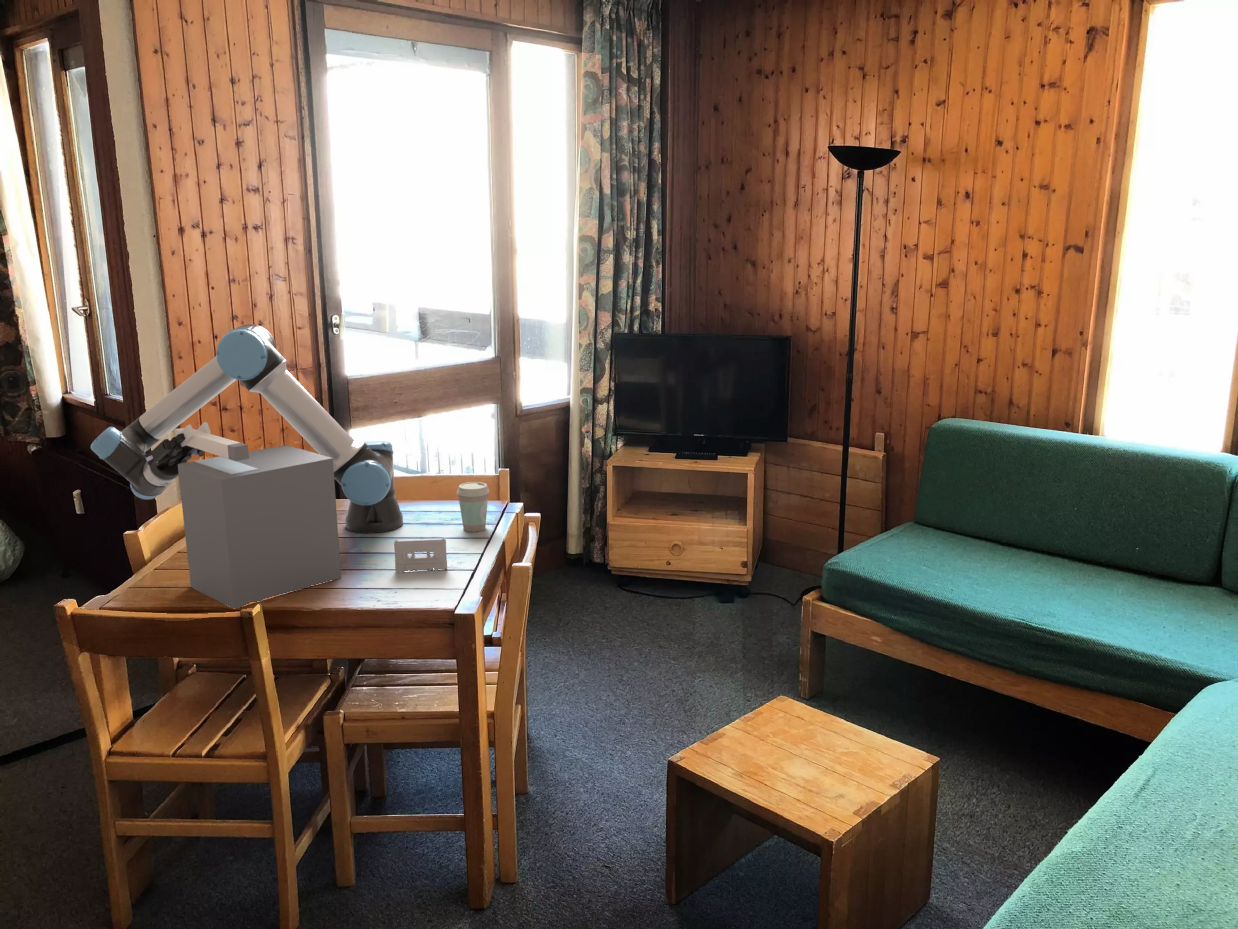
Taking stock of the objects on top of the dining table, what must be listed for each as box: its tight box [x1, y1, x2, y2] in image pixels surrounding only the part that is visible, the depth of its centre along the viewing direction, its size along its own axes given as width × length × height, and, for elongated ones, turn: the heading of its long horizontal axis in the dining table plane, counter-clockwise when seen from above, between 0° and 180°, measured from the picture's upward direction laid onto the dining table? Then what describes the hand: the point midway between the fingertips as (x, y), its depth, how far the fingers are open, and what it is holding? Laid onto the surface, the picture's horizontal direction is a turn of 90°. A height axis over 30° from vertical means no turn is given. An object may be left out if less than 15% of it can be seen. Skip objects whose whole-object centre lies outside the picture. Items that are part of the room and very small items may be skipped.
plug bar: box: [174, 427, 250, 461], centre depth 220 cm, size 28×3×3 cm, turn 48°
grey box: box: [178, 444, 342, 609], centre depth 224 cm, size 20×26×29 cm
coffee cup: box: [456, 481, 490, 532], centre depth 266 cm, size 9×8×12 cm
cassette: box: [393, 538, 448, 572], centre depth 235 cm, size 12×2×8 cm, turn 97°
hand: (199, 428), depth 222 cm, fingers closed on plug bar, 3 cm apart
